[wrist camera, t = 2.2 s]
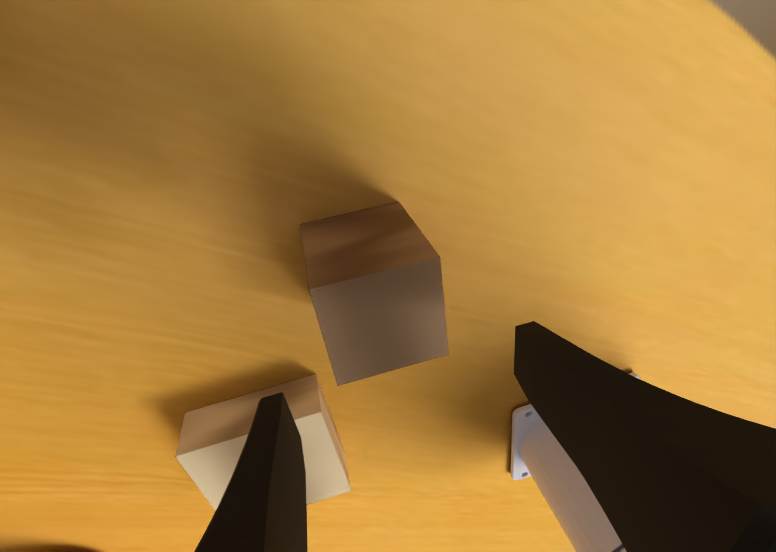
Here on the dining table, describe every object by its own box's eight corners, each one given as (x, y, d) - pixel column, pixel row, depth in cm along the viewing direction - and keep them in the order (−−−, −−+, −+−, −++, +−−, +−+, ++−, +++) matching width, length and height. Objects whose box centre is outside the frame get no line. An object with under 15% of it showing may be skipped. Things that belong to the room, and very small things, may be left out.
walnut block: (398, 201, 19) (440, 256, 14) (409, 283, 21) (448, 354, 16) (299, 223, 18) (308, 289, 13) (323, 306, 20) (337, 386, 16)
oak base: (315, 369, 23) (321, 411, 20) (343, 446, 26) (351, 490, 24) (186, 407, 22) (175, 456, 19) (234, 481, 26) (230, 530, 23)
